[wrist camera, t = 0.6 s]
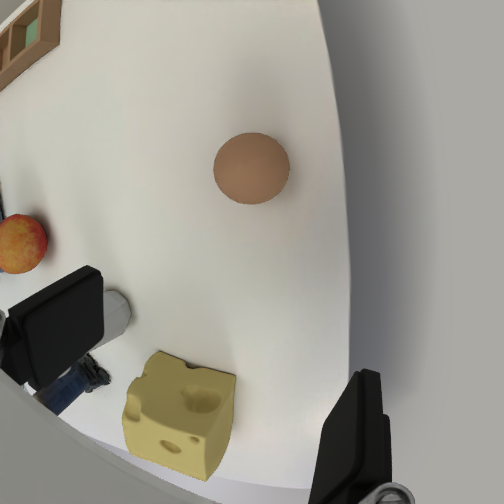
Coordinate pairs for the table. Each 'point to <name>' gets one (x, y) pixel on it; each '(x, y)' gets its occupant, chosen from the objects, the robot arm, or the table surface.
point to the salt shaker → (113, 317)
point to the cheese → (179, 416)
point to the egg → (251, 168)
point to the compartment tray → (28, 38)
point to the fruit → (21, 244)
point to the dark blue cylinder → (71, 385)
